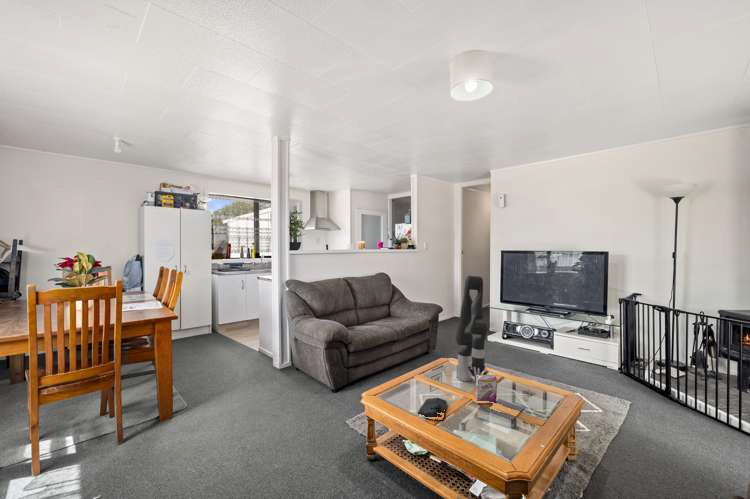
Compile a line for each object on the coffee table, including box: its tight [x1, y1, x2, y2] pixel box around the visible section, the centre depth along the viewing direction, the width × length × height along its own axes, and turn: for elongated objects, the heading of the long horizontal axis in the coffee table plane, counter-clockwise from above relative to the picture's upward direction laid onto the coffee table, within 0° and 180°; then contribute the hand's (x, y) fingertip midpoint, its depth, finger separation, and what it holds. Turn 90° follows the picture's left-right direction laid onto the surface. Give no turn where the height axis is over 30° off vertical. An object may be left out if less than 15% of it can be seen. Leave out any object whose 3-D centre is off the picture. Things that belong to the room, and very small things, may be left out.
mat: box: [485, 398, 525, 421], centre depth 186 cm, size 15×18×1 cm
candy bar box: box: [475, 374, 498, 403], centre depth 192 cm, size 11×5×16 cm, turn 84°
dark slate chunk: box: [417, 397, 448, 417], centre depth 185 cm, size 15×22×5 cm
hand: (477, 383), depth 197 cm, fingers closed
